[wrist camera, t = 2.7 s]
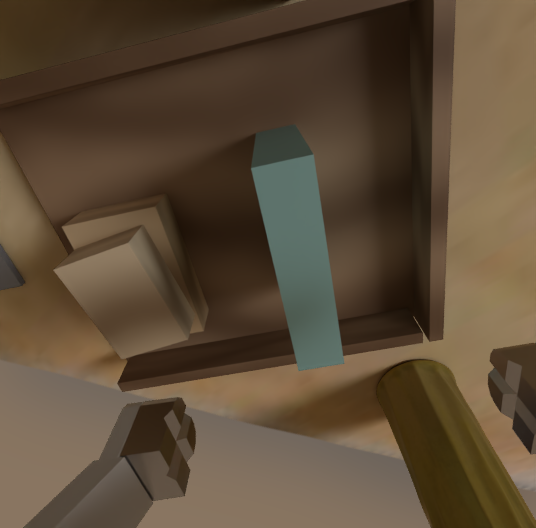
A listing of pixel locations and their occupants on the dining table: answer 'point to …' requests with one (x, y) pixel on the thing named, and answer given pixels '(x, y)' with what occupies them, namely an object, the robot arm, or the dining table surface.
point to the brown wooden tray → (240, 160)
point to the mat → (8, 272)
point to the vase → (448, 451)
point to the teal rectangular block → (298, 243)
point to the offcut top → (128, 292)
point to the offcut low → (161, 232)
